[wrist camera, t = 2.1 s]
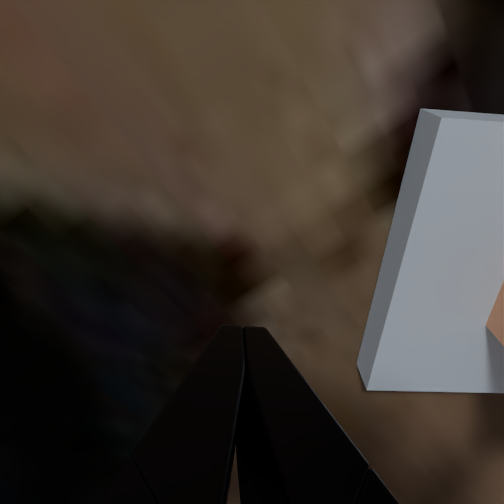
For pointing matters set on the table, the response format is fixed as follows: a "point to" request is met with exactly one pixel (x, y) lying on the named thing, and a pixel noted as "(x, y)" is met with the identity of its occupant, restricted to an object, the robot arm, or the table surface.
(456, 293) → the trap board
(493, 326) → the block
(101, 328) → the table surface
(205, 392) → the robot arm
